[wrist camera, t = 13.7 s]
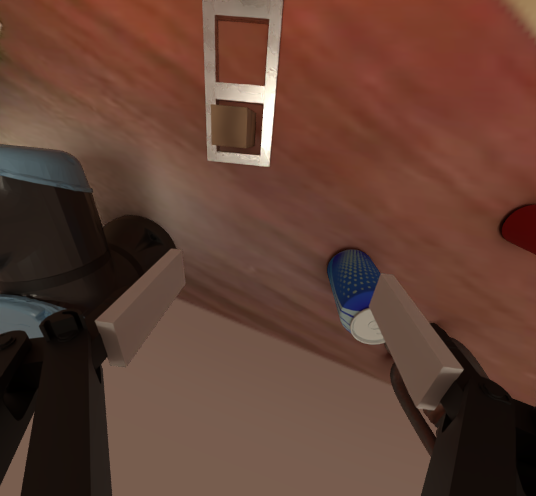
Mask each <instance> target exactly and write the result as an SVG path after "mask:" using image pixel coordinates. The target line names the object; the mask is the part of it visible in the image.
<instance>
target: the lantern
mask: <svg viewBox="0 0 536 496" xmlns="http://www.w3.org/2000/svg"><path fill="white" fill-rule="evenodd" d="M450 338H451V337H450ZM451 340H452V342H454V343H455V345H456V346H457V347H458V349H459V350H460V351H461V352H462V353H463V355H464V356H465V357H466V358H467V360H468V361H469V362H470V363H471V365H472V366H473V367H474V368H475V370H476V371H477V372H478V373H479V375H480V376H481V377H485V378H487V379H489V378H488V376H487V375H486V373H485V372H484V370H483V368H482V367H481V366H480V364H479V363H478V361H477V360H476V358H475V357H474V356H473V355H472V353H471V352H470V351H469V350H468V349H467V348H466V347H465V346H464V345H463V344H462V343H460V342H459V341H457V340H456V339H454V338H451ZM384 344H385V347H386V349H387V351H388V352H389V353H390V351H389V349H388V346H387V344H386V342H385V343H384ZM390 354H391V353H390ZM390 377H391V383H392V386H393V389H394V392H395V394H396V396H397V398H398V400H399V402H400V404H401V406H402V408H403V410H404V411H405V413H406V415H407V417H408V419H409V420H410V422H411V424H412V426H413V427H414V429H415V431H416V433H417V434H418V436H419V438H420V440H421V441H422V443H423V445H424V446H425V448H426V450H427V451H428V453H429V455H430V456H432V452H433V448H434V445H435V441H436V437H435V435H434V434H433V432H432V430H431V429H430V427H429V426H428V424H427V423H426V421H425V419H424V418H423V416H422V415H421V413H420V411H419V410H418V408H416V406H415V404H414V402H413V400H412V398H411V397H410V395H409V393H408V391H407V389H406V387H405V385H404V382H403V378H402V376H401V374H400V372H399V370H398V368H397V366H396V364H395V362H394V364H393V365H392V368H391V372H390ZM423 411H424V413H425V414H426V416H427V417H428V418H429V420H430V422H432V423H433V424H434V425H436V423H437V422H438V421H439V419H440V418H441V417H442V415H443V414H444V413H445V412H446V411H445V409H444V408H443V406H442V404H441V402H440V403H439V404H438V406H437V407H436V409H435V410H427V409H423ZM438 430H439V427H438V429H437V431H436V436H437V433H438Z"/></svg>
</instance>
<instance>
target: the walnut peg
mask: <svg viewBox="0 0 536 496" xmlns="http://www.w3.org/2000/svg"><path fill="white" fill-rule="evenodd" d="M255 125H256V113H254V112H253V111H252V110H250V109H249V108H245V107H235V106H224V105H214V104H211V143H212V145H217V146H227V147H237V148H249V147H253V146H254V143H255Z"/></svg>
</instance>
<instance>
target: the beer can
mask: <svg viewBox="0 0 536 496" xmlns="http://www.w3.org/2000/svg"><path fill="white" fill-rule="evenodd" d="M327 273H328V277H329V281H330V284H331V288H332V292H333V295H334V299H335V302H336V306H337V309H338V313H339V317H340V320H341V323H342V325H343V326H344V327H345V328H346V330H348V331H349V332H350V333H352V335H353V336H354V338H355V339H357V340H358V341H360V342H362V343H366V344H381V343H385V340H384V338H383V336H382V334H381V331H380V329H379V327H378V325H377V323H376V321H375V319H374V316H373V314H372V312H371V310H370V308H369V304H370V302H371V299H372V296H373V294H374V291H375V288H376V285H377V283H378V280H379V277H380V272H379V270H378V269H377V267H376V266H375V264H374V263H373V261H372V260H371V258H370V257H369V256H368V255H367V254H366V253H364V252H362V251H359V250H345V251H342V252H340V253H338V254H336V255H335V256H334V257H333V258H332V259H331V260H330V262H329V264H328V268H327Z"/></svg>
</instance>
